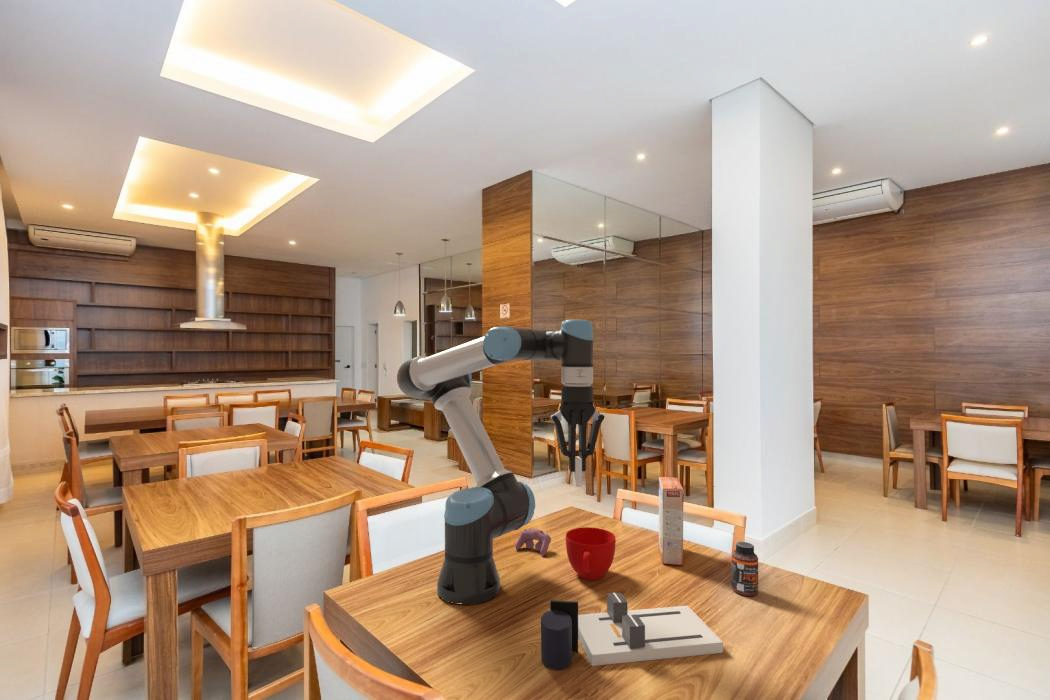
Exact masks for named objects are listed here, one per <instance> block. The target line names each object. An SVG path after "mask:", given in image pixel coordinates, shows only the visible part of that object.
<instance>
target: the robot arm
mask: <svg viewBox="0 0 1050 700" xmlns="http://www.w3.org/2000/svg"><path fill="white" fill-rule="evenodd" d="M593 327H594V325H593V323H592V321H591V320H589V319H588V320H587V319H565V320H563V321H562V322H561V325H560V328H559V329H538V328H537V329H536V328H524V327H523V328H522V327H512V326H506V325H502V326H494V327H491V328H490V329H488V331H487V332H486V333H485V335H484V336H481V337H479V338H476V339H473V340H470V341H468V342H465V343H462V344H459V345H457V346H453V347H451V348H449V349H446V350H443V351H440V352H438V353H435V354H431V355H430V356H429V355H428V356H427V355H419V356H416V357H412V358H409V359H407V360H406V361H405V362H403V363H402V364H401V365H400V367H399V368H398V370H397V373H396V381H397V382H396V383H397V385H398V388H399V390H400V391H401V393H403V394H404V395H406V396H407V397H409V398H410V399H411V398H412V399H417V400H422V399H430V400H431V402H432V404H433V406H434V408H435V410H438V411H441V412H442V413H443V415H444V417H445V420H446V423H448V426H449V428H450V430H451V433H452V434H453V436H454V438H455V441H456V444H457V445H458V447H459V449H460V451H461V454H462V456H463V458H464V459H465V462H466V465H467V466H468V468H469V470H470V471H469V472H470V473H471V474H472V477H473V479H474V481H475V483H476V486H472V487H470V488H467V487H466V488H462V489H459V490H457V491H454V492H453V493H451V494H449V496H448V497H447V499H446V501H445V509H444V514H443V519H444V560H443V563H442V566H441V569H440V573H439V575H438V579H437V582H436V583H437V584H436V585H437V587H436V593H438V594H437V596H438V595H439V596H440V597H441V598H443V599H444V600H446V601H449V602H453V603H462V604H470V605H475V604H474V603H478V604H482V603H485V602H487V601H489V600H492V599H493V598H495V597H497V596H498V594H499V592H500V589H501V580H500V579H501V578H500V575H499V572H498V569H497V565H496V563H495V560H494V553H493V552H494V550H493V549H494V547H493V546H494V545H493V544H494V539H497V538H499V537H502V536H504V535H507V534H508V533H510V532H515V531H518V530H520V529H521V528H522V527H524V526H526V525H528V524H529V523H530V522H531V520H532V519H533V517H534V514H535V509H536V498H535V495H534V492H533V490H532V489H531V487H530V486H529V485H528V484H527V483H525V482H523V481H520V480H519V481H518V480H517V478H516V476H515V473H514V472H513V471H511V470H508V469H506V468H505V467H504V465H503V463H502V460H501V458H500V456H499V454H498V453H497V451H496V449H495V446H494V445H493V442H492V441H491V439H490V437H489V434H488V432H487V431H486V429H485V427H484V425H483V423H482V421H481V418H480V417H479V415H478V413H477V411H476V408H475V407H474V405H473V403H472V401H471V399H470V396H471V394H472V389H471V388H472V384H473V381H471V380H472V379H473V377H472V373H475V372H478V371H481V370H485V369H488V368H491V367H494V366H497V365H501V364H505V363H508V362H511V361H557V360H558V361H561V363H560V364H561V377H560V378H561V379H560V380H561V381H560V383H561V384H563V385H562V387H561V388H560V389H561V395H560V396H561V400H560V401H561V404H560V406H559V409H558V411H556V412H555V413H554V414H550V416H549V418H550V420H551V421H552V422H553V424H554V428H555V433H556V437H557V441H558V444H559V446H558V447H559V449H560V453H561V455H563V456H564V457H567V458H568V470H569V472H570V473H572V485H573V486H574V487H575V488H578V487H582V486H583V472H586V469H587V466H586V465H587V458H588V457H589V456H593V455H594V453H595V450H596V444H597V440H598V436H599V432H600V428H601V424H602V423H603V421H604V419H605V415H604V414H602V413H599V412H598V411H597V410H596V408H595V407H596V406H595V405H594V387H593V386H592V385H593V384H594V340H595V338H594V330H593V329H594V328H593ZM562 417H563V419H564V420H565V421H566V423H567V431H568V434H567V435H568V436H567V437H568V438H567V439H568V440H567V442H566V438H565V433H564V429H563V425H562V422H561V421H562ZM591 419H592V420H593V421H592V423H591V427H590V431H589V436H588V439H587V429H588V423H589V421H590V420H591ZM577 427H578V455H577V454H576V453H577V447H576V445H577V444H576V442H577V437H576V435H577V433H576V432H577ZM587 440H588V441H587ZM567 443H568V444H567ZM576 455H577V456H576ZM439 596H438V597H439ZM440 597H439V598H440ZM441 598H440V599H441ZM443 599H442V600H443ZM444 600H443V601H444ZM446 601H445V602H446ZM449 602H448V603H449ZM481 602H482V603H481ZM453 603H452V604H453Z"/></svg>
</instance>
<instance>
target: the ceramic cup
mask: <svg viewBox="0 0 1050 700" xmlns="http://www.w3.org/2000/svg"><path fill="white" fill-rule="evenodd" d="M616 542H617V541H616V536H615V534H614V533H612V532H611V531H610V530H606V529H604V528H603V529H602V528H599V527H592V526H591V527H588V526H586V527H577V528H573V529H570V530H568V531H567V532H566V533H565V550H566V555H567V557H568V558H567V559H568V561H569V564H570V566H571V567H572V569H573V570H574V571H575V573H576V574H577V575H578V577H580V578H582V579H585V580H589V581H590V580H592V581H595V580H596V581H597V580H599V579H602V578H604V575H605V574H606V573H607V572H608V571H609V569H610V568H611V567H612V564H613V562H614V557H615V552H616Z"/></svg>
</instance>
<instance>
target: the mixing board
mask: <svg viewBox="0 0 1050 700" xmlns="http://www.w3.org/2000/svg"><path fill="white" fill-rule="evenodd" d="M636 614H637V615H638V617H639V618H640V619H641V621H642V622H643V623H644V625H645V647H640V648H629V646H628V645H627V643H626V642H625V640H624V638H623V637H622V622H615V623H613V621H612V619H611V618H610V616H609V615H608V613H607V611H606V612H595V613H582V614H578V640H579V641H580V643H581V645H582V649H583V650H584V652H585V654H586V656H587V658H588V660H589V663H590V665H591V666H592V667H594V666H596V667H597V666H604V665H605V666H606V665H613V664H623V663H634V662H635V663H636V662H643V661H645V662H646V661H654V660H665V659H675V658H685V657H694V656H703V655H713V654H722V653H724V641H723V640H722V639H721V638H720V637H719V636H718V635H717V634H716V633H715V632H714V631H713V630H712V629H711V628H710V627H709V626H708V624H706V623H705V622H704V621H703V620H702V619H701V618H700V616H698V615H697V614H696V613H695V612H694V610H692V609H691V608H690V606H688V605H680V606H679V605H676V606H666V607H655V608H644V609H642V608H641V609H632V610H631V609H630V610H627V615H636Z"/></svg>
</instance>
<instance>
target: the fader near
mask: <svg viewBox="0 0 1050 700" xmlns="http://www.w3.org/2000/svg"><path fill="white" fill-rule="evenodd" d="M622 637H623V638H624V640H625V642H626V643H627V645H628V646H629V648H640V647H645V625H644V623H643V622H642V621H641V619H640V618H639V617H638V615H637V614H636V615H624V616H622Z"/></svg>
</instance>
